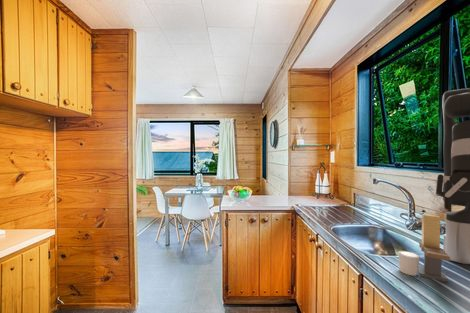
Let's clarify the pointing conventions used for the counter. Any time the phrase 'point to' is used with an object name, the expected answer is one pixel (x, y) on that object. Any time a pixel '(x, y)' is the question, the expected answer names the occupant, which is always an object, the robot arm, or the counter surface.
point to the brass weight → (431, 231)
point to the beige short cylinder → (408, 262)
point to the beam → (434, 252)
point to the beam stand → (432, 269)
